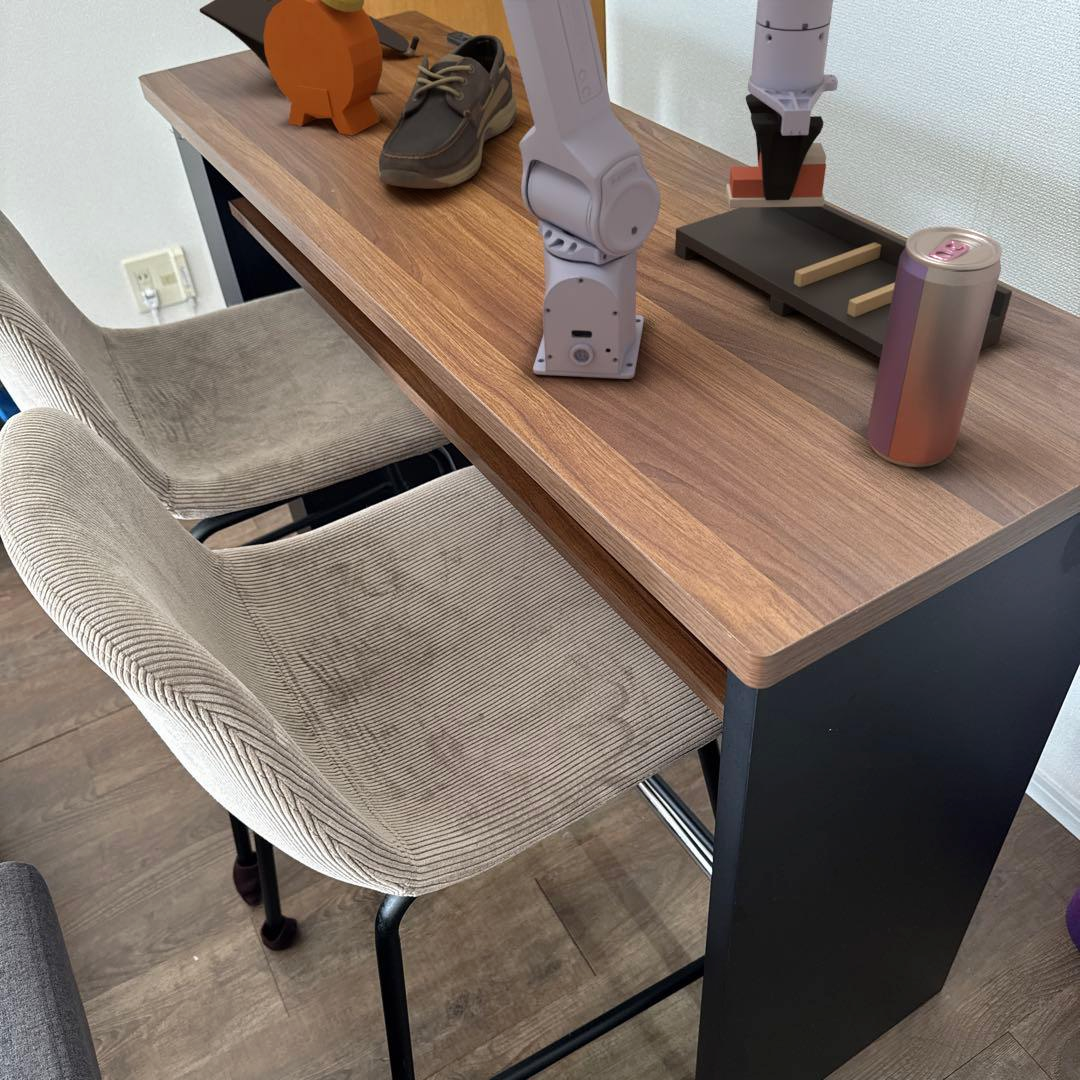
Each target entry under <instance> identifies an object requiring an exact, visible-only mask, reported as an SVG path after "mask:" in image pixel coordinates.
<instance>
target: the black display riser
mask: <svg viewBox="0 0 1080 1080" xmlns="http://www.w3.org/2000/svg"><path fill="white" fill-rule="evenodd" d="M906 241H907V240H904V239H901V237H900V238H899V237H898V236H896V235H893V234H891V233H889V232H886V231H884V230H883V229H880V228H878V227H876V226H874V225H872V224H869V223H868V222H865V221H863V220H861V219H859V218H856V217H854V216H852V215H850V214H848V213H846V212H843V211H841V210H839V209H837V208H835V207H833V206H831V205H829V204H827V203H824V205H823V206H814V207H749V208H733V209H732V210H728V211H725V212H722V213H719V214H716V215H713V216H710V217H707V218H704V219H701V220H697V221H695V222H692V223H689V224H686V225H685V224H684V225H683V226H679V227H676V228H675V241H674V254H675V255H677V256H679V257H680V258H682V259H684V260H687V259H691V258H693V257H696V256H701V257H704V258H706V259H707V260H708V261H711V262H712V263H714V264H716V265H718V266H720V267H721V268H723V269H725V270H726V271H728V272H730V273H732V274H733V275H735V276H737V277H738V278H740V279H742V280H743V281H745V282H747V283H749V284H751V285H753V286H754V287H756V288H758V289H759V290H761V291H763V292H765V293H766V294H768V295H770V298H769V299H770V301H769V310H770V311H772V312H774V313H776V314H777V315H779V316H781V317H783V316H786V315H788V314H791V313H794V312H796V311H798V312H800V313H801V314H803V315H805V316H807V317H808V318H810V319H812V320H814V321H816V322H817V323H819V324H821V325H822V326H824V327H825V328H828V329H829V330H831V331H833V332H834V333H835V334H838V335H839V336H842V337H843V338H845V339H847V340H848V341H850V342H852V343H854V344H855V345H857V346H859V347H860V348H862V349H864V350H866V351H868V352H869V353H871V354H873V355H874V356H877V358H880V359H881V354H882V349H883V343H884V338H885V333H886V327H887V322H888V317H889V312H890V306H891V301H892V296H893V291H894V285H895V280H896V275H897V269H898V264H899V259H900V256H901V254H902V252H903V250H904V249H905V244H906ZM1012 295H1013V290H1012V289H1009V288H1007V287H1005V286H1003V285H1000V284H998V283H997V287H996V291H995V295H994V299H993V302H992V306H991V310H990V314H989V318H988V322H987V326H986V329H985V333H984V337H983V341H982V345H981V349H980V351H981V350H983V349H986V348H988V347H990V346H993V345H995V344H997V343H999V342H1000V338H1001V334H1002V331H1003V327H1004V323H1005V320H1006V317H1007V313H1008V309H1009V305H1010V303H1011V298H1012Z"/></svg>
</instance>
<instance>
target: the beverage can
mask: <svg viewBox="0 0 1080 1080" xmlns="http://www.w3.org/2000/svg"><path fill="white" fill-rule="evenodd" d="M905 241H906V244H905V249H904V250H903V252H902V254H901V256H900V259H899V264H898V269H897V275H896V280H895V285H894V291H893V296H892V301H891V306H890V312H889V317H888V322H887V327H886V333H885V338H884V343H883V349H882V354H881V358H880V359H879V366H878V370H877V376H876V381H875V386H874V390H873V396H872V402H871V408H870V414H869V419H868V422H867V427H866V439H867V440H868V443H869V445H870V447H871V448H872V450H873V451H874V452H875V453H876V454H877V455H878V456H879V457H880V458H882V459H883V460H885V461H887V462H889V463H892V464H895V465H898V466H901V467H908V468H926V467H930V466H934V465H938V464H939V463H941V462H942V461H944V460H945V459H946V458H948V457H949V456H950V455H951V454H952V453H953V452H954V450H955V448H956V445H957V441H958V439H959V438H958V437H959V435H960V434H959V433H960V430H961V426H962V422H963V418H964V416H965V415H964V414H965V410H966V406H967V402H968V400H969V394H970V391H971V387H972V383H973V379H974V375H975V371H976V368H977V364H978V361H979V356H980V352H981V350H982V349H981V345H982V341H983V337H984V333H985V329H986V326H987V322H988V318H989V314H990V310H991V306H992V302H993V299H994V295H995V291H996V287H997V284H998V283H999V279H1000V276H1001V271H1002V264H1001V257H1002V253H1003V249H1002V246H1001V244H1000V243H999V242H998V241H997V240H996V239H995V238H993V237H992V236H990V235H988V234H987V233H984V232H982V231H978V230H974V229H972V228H967V227H960V226H944V225H943V226H931V227H927V228H923V229H919V230H917V231H915V232H913V233H911V234H910V235H909V236H908V237H907V239H906V240H905ZM980 349H981V350H980Z"/></svg>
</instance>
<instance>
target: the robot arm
mask: <svg viewBox="0 0 1080 1080" xmlns="http://www.w3.org/2000/svg"><path fill="white" fill-rule="evenodd" d="M501 3H502V7H503V10H504V14H505V19H506V22H507V26H508V29H509V33H510V37H511V40H512V44H513V48H514V52H515V56H516V59H517V63H518V67H519V70H520V71H519V72H520V75H521V78H522V82H523V86H524V90H525V92H526V97H527V102H528V105H529V108H530V109H529V110H530V112H531V116H532V120H533V123H534V125H532V127H531V128H530V129H529V130H528V131H527V132H526V133H525V135H524V136H523V137H522V139H521V140H520V141H519V143H518V147H519V151H520V154H521V159H522V175H521V183H520V189H521V191H520V192H521V199H522V202H523V205H524V206H525V208H526V210H527V212H528V213H529V214H530V215H532V217H534V218H536V219H537V226H538V228H537V229H538V234H539V235H540V236H541V237H542V244H543V245H542V246H543V248H542V249H543V269H544V270H543V271H544V288H545V289H544V292H545V293H544V297H543V301H542V320H543V321H542V325H543V335H542V338H541V341H540V344H539V347H538V351H537V353H536V358H535V361H534V363H533V367H532V372H533V373H534V374H535V375H539V376H540V375H542V376H556V377H557V376H558V377H560V376H561V377H576V378H577V377H578V378H579V377H580V378H598V379H600V378H601V379H618V380H630V379H633V378H634V377H635V374H636V368H637V364H638V363H637V362H638V357H639V352H640V348H641V347H640V346H641V342H642V335H643V329H644V326H645V325H644V324H645V323H644V322H645V317H644V316H643V315H640V314H637V275H638V273H637V271H638V269H637V267H638V250H641V249H642V248H644V243H645V242H646V241H647V239H648V238H649V236H651V233H652V232H653V230H654V228H655V226H656V223H657V221H658V218H659V214H660V210H661V192H660V188H659V185H658V182H657V180H656V179H655V177H654V176H653V175H652V174H651V172H649V171H648V169H647V168H646V165H645V162H644V158H643V155H642V154H643V153H642V149H641V147H640V145H639V143H638V142H637V141H636V140H635V138H634V137H633V136H632V134H631V133H630V132H629V131H628V130H627V128H626V127H625V126H624V125H623V124H622V122H621V121H620V119H619V118H618V117H617V116H616V115H615V113H614V112H613V111H614V110H613V109H612V103H611V98H610V94H609V88H608V84H607V78H606V73H605V68H604V63H603V59H602V54H601V49H600V44H599V38H598V34H597V30H596V24H595V19H594V14H593V9H592V5H591V0H501ZM756 3H757V4H756V15H755V27H754V36H753V37H754V38H753V50H752V59H751V60H752V62H751V73H750V76H749V77H748V79H747V91H748V92H749V94H747V95H745V102H746V105H747V108H748V110H749V112H750V121H751V125H752V128H753V130H754V133H755V141H756V142H755V143H756V154H757V155H756V156H757V166H759V157H760V153H761V161H762V181H763V190H764V195H765V199H766V200H789V199H790V197H791V195H792V193H793V190H794V188H795V185H796V182H797V179H798V175H799V172H800V169H801V167H802V164H803V161H804V159H805V157H806V154H807V152H808V151H809V149H810V147H811V145H812V144H813V143H815V141H816V139H817V138H818V137H819V136H820V134H821V132H822V130H823V128H824V123H825V122H824V119H823V117H822V116H821V115H817V116H815V115H814V116H813V115H812V110H813V109H814V107H815V106H816V104H817V103H818V100H819V99H820V98H821V96H822V95H823V93H825V92H833V91H836V90H838V85H839V84H838V83H839V80H838V78H837V76H836V75H834V74H825V68H826V57H827V51H828V43H829V35H830V27H831V20H832V13H833V4H834V0H757V2H756ZM811 115H812V116H811Z"/></svg>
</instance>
